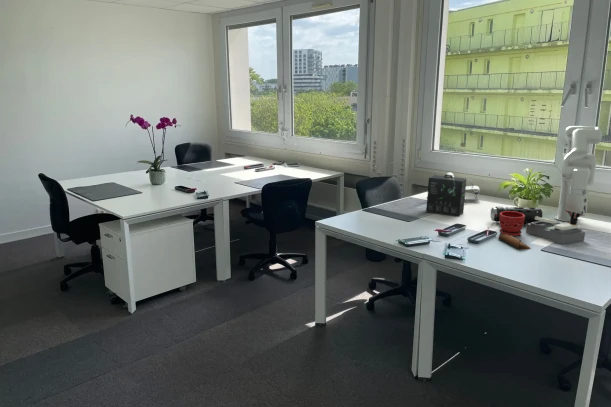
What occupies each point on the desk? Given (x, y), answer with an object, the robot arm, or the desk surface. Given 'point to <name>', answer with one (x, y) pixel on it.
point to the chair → (469, 187)
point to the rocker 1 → (545, 220)
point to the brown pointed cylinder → (513, 241)
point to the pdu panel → (555, 233)
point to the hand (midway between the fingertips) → (573, 224)
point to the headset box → (446, 195)
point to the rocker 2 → (565, 226)
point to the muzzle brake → (528, 212)
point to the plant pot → (511, 223)
